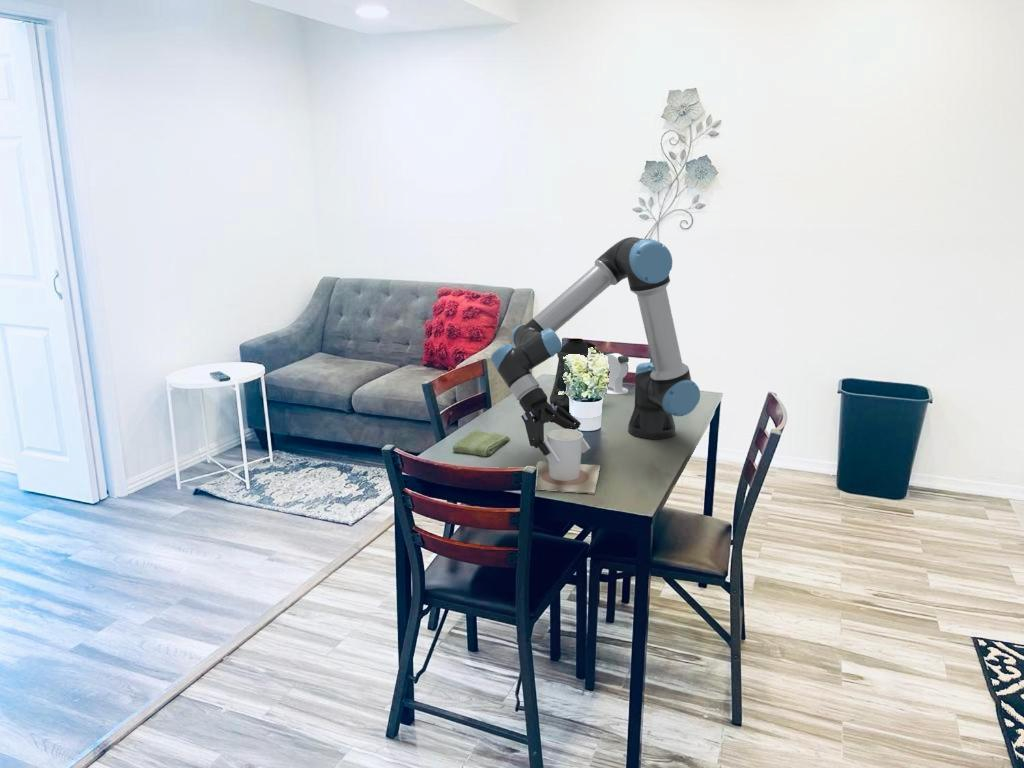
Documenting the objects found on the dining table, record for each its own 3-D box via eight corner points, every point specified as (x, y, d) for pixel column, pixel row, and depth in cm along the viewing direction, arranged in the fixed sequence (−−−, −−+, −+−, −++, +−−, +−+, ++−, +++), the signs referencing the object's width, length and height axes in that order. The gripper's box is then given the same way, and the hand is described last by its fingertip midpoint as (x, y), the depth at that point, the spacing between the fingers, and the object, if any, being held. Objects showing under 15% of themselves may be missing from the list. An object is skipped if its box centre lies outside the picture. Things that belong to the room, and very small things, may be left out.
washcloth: (511, 441, 240) (511, 431, 239) (488, 459, 224) (488, 449, 223) (474, 436, 245) (474, 426, 244) (449, 453, 229) (449, 443, 228)
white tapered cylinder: (586, 472, 210) (587, 431, 207) (575, 484, 202) (576, 442, 199) (553, 467, 214) (554, 426, 211) (541, 479, 206) (541, 437, 203)
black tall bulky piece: (540, 409, 272) (541, 341, 266) (567, 397, 288) (568, 332, 281) (581, 416, 263) (582, 346, 257) (606, 403, 279) (608, 337, 273)
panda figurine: (635, 392, 294) (636, 354, 290) (611, 396, 288) (613, 358, 284) (616, 385, 304) (617, 349, 300) (593, 389, 298) (594, 352, 294)
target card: (600, 467, 216) (600, 465, 216) (594, 494, 197) (594, 492, 197) (538, 463, 219) (538, 461, 219) (526, 489, 200) (526, 487, 200)
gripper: (549, 392, 222) (590, 452, 216) (492, 411, 204) (535, 477, 198) (564, 378, 217) (606, 438, 212) (507, 395, 199) (551, 462, 193)
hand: (572, 457), depth 205 cm, fingers open, 13 cm apart
